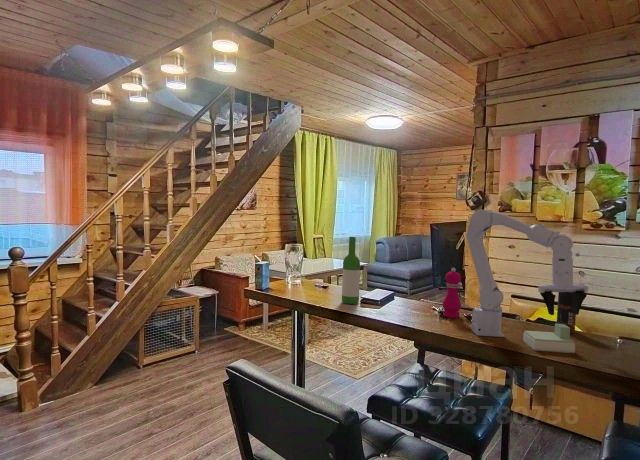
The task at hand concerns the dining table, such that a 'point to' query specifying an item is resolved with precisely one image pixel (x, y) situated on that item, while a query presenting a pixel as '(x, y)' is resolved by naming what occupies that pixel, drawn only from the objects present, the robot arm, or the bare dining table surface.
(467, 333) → the dining table surface
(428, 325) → the dining table surface
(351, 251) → the wine bottle
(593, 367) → the dining table surface
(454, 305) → the pepper mill
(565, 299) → the deodorant
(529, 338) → the tub
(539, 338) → the lid
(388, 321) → the dining table surface
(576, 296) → the robot arm
